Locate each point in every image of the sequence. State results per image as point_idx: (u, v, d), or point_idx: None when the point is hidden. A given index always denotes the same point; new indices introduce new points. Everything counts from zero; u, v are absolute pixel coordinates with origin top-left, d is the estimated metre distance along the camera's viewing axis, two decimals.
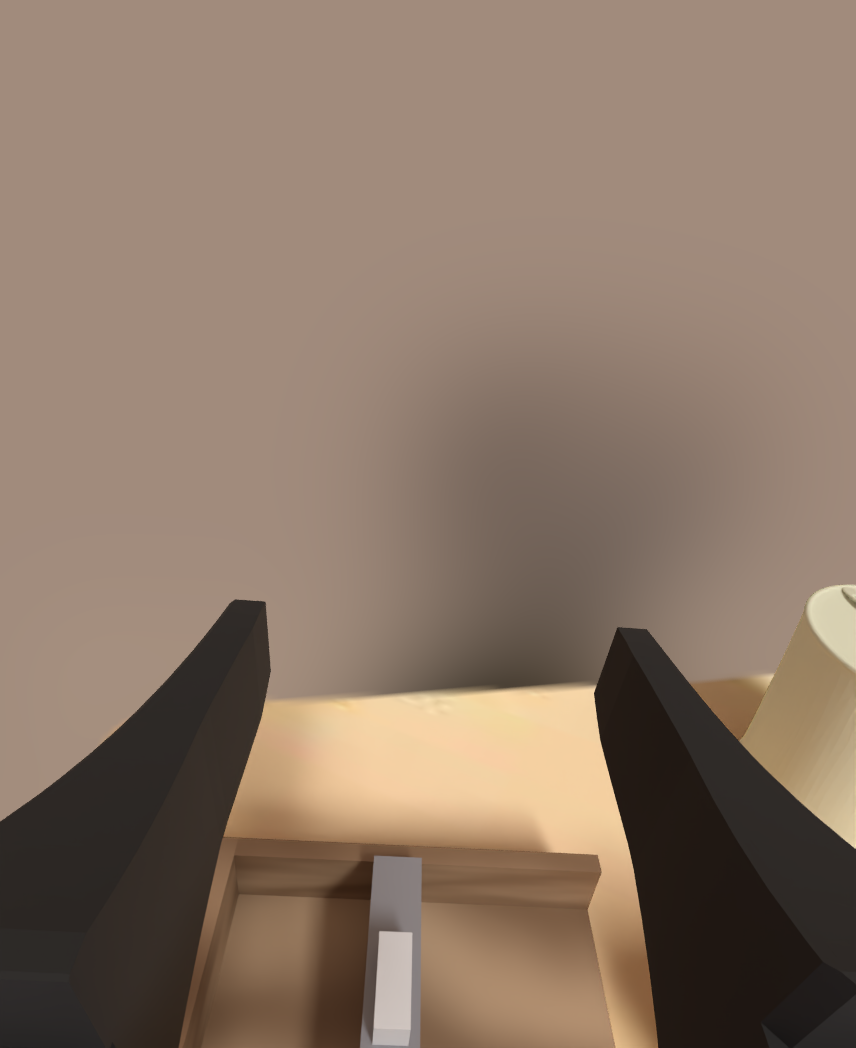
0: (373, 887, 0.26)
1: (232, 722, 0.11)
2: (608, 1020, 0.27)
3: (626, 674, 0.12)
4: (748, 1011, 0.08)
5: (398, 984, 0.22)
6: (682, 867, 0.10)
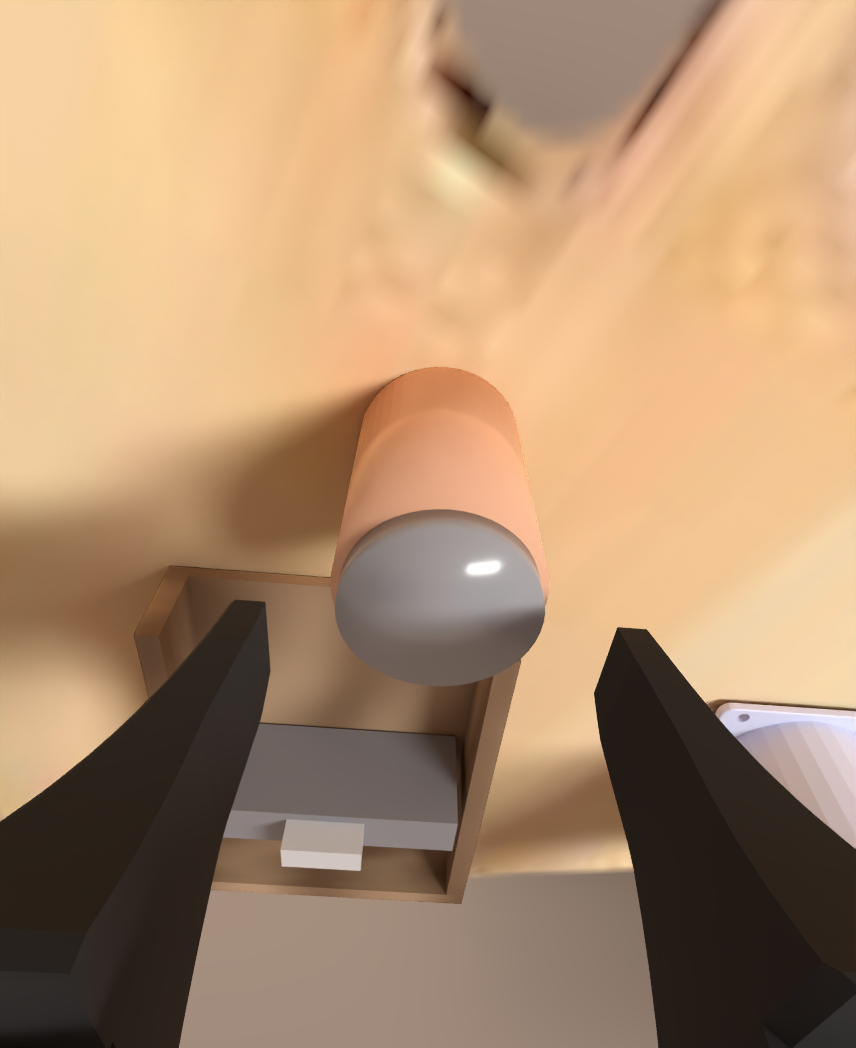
0: (230, 836, 0.26)
1: (232, 722, 0.11)
2: (309, 582, 0.24)
3: (626, 674, 0.12)
4: (748, 1011, 0.08)
5: (326, 858, 0.25)
6: (682, 867, 0.10)
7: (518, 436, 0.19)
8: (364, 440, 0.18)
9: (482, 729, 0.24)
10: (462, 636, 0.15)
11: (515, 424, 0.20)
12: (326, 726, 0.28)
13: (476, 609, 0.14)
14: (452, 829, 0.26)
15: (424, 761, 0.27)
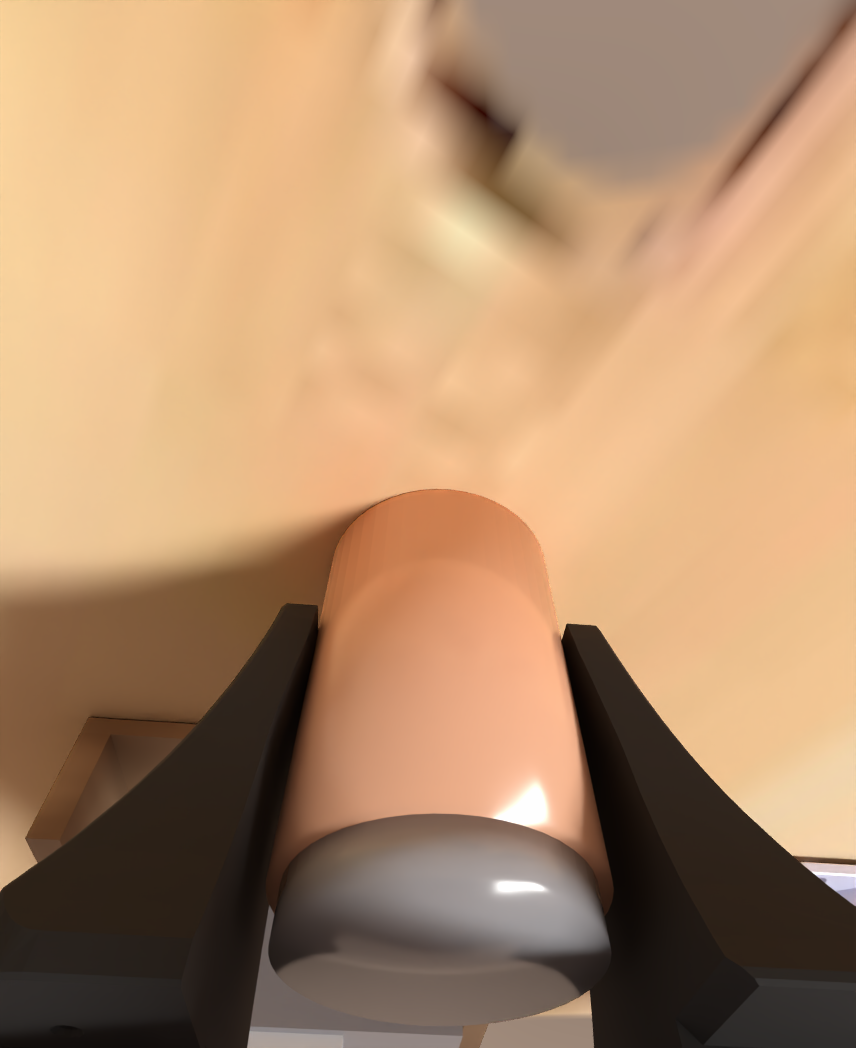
0: None
1: (291, 725, 0.11)
2: None
3: (572, 670, 0.12)
4: (665, 1007, 0.08)
5: None
6: (615, 863, 0.10)
7: (549, 588, 0.14)
8: (330, 608, 0.13)
9: None
10: (475, 983, 0.09)
11: (544, 567, 0.14)
12: None
13: (499, 957, 0.09)
14: (455, 1040, 0.20)
15: None
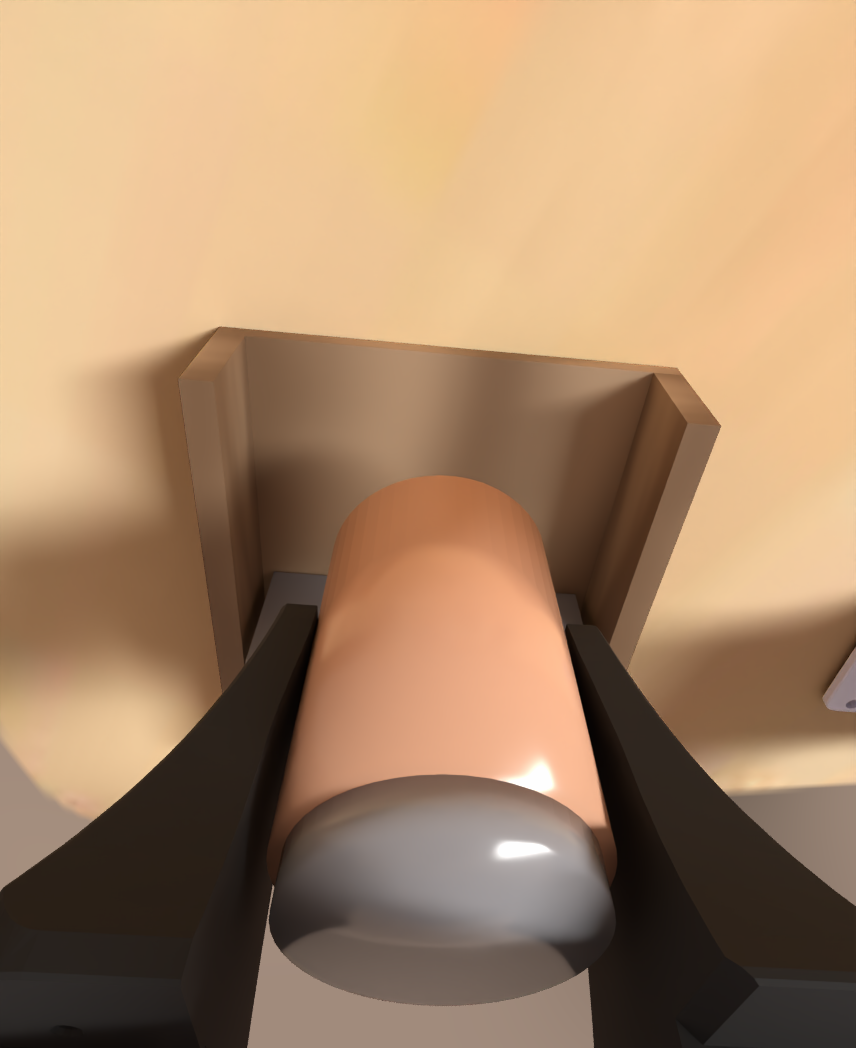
0: None
1: (291, 725, 0.11)
2: (408, 348, 0.18)
3: None
4: (665, 1007, 0.08)
5: None
6: None
7: None
8: (334, 586, 0.13)
9: (644, 545, 0.18)
10: (476, 956, 0.09)
11: (546, 556, 0.14)
12: None
13: (503, 927, 0.09)
14: None
15: None
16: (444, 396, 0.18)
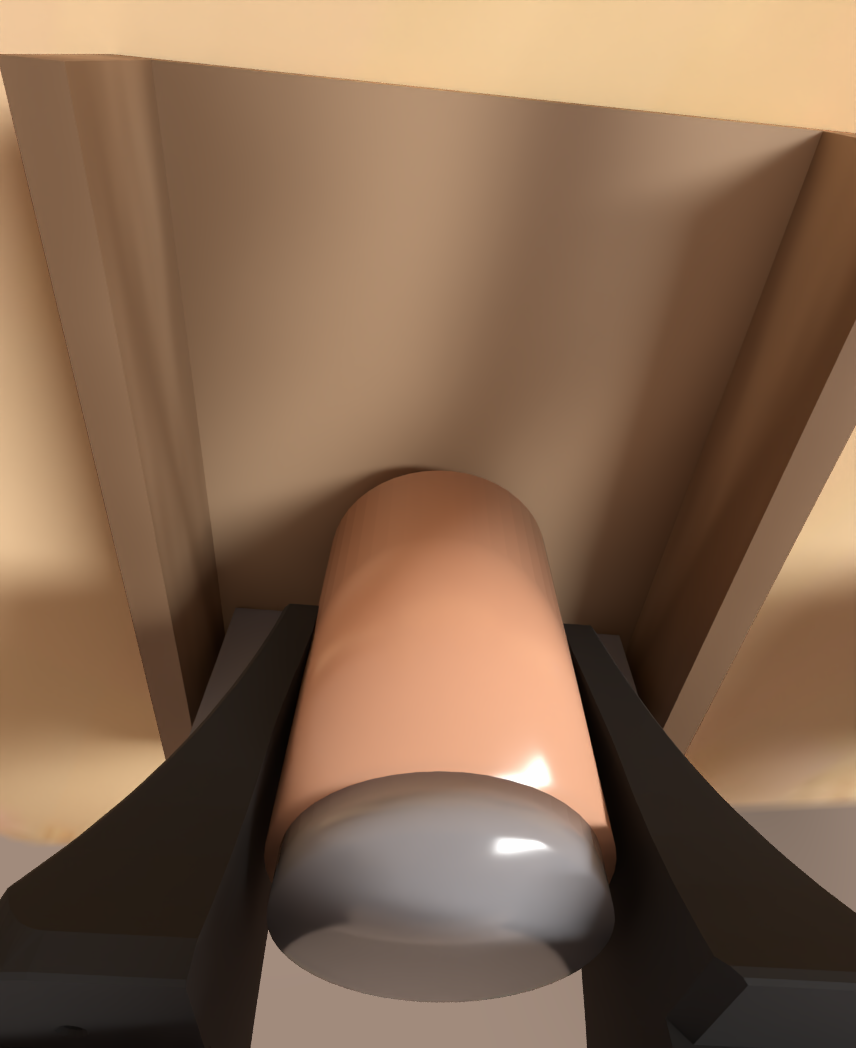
0: None
1: None
2: (422, 88, 0.11)
3: None
4: (656, 1007, 0.08)
5: None
6: None
7: (550, 572, 0.14)
8: (333, 582, 0.12)
9: (813, 410, 0.11)
10: (475, 953, 0.09)
11: (545, 552, 0.14)
12: None
13: (501, 924, 0.09)
14: None
15: None
16: (480, 179, 0.11)
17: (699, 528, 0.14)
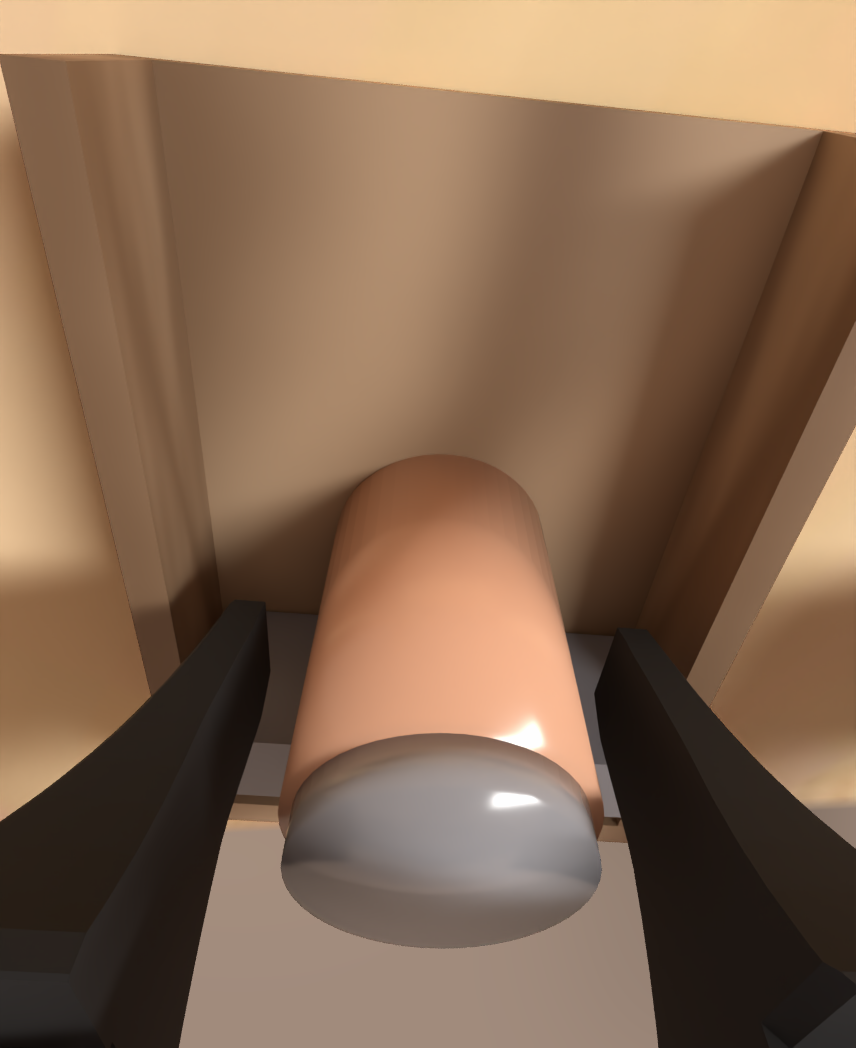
0: (258, 793, 0.15)
1: (232, 722, 0.11)
2: (423, 87, 0.11)
3: (626, 674, 0.12)
4: (748, 1011, 0.08)
5: None
6: (682, 867, 0.10)
7: None
8: (339, 561, 0.13)
9: (813, 410, 0.11)
10: (473, 900, 0.10)
11: (542, 532, 0.15)
12: None
13: (497, 873, 0.09)
14: None
15: (579, 672, 0.16)
16: (481, 178, 0.11)
17: (699, 528, 0.14)
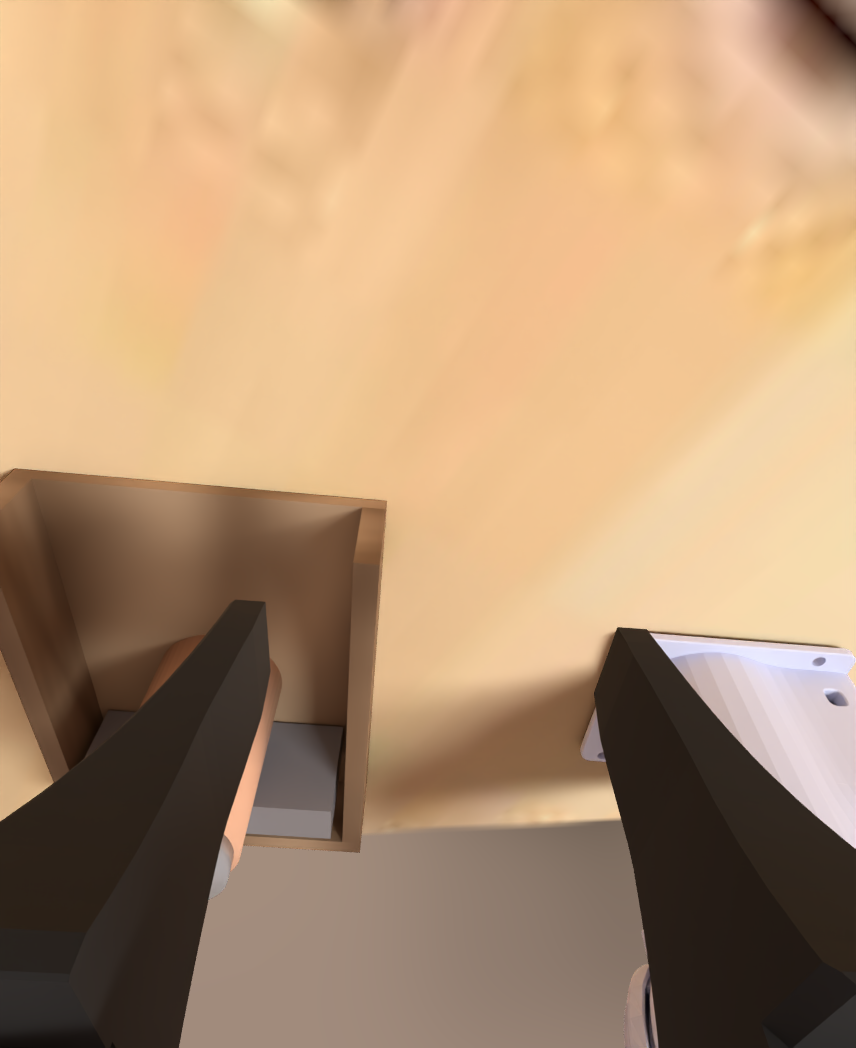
0: None
1: (232, 721, 0.11)
2: (165, 487, 0.22)
3: (626, 674, 0.12)
4: (748, 1011, 0.08)
5: None
6: (682, 867, 0.10)
7: (269, 690, 0.26)
8: (143, 701, 0.24)
9: (350, 646, 0.22)
10: None
11: (270, 677, 0.26)
12: None
13: None
14: (326, 817, 0.26)
15: (307, 751, 0.28)
16: (200, 522, 0.23)
17: None
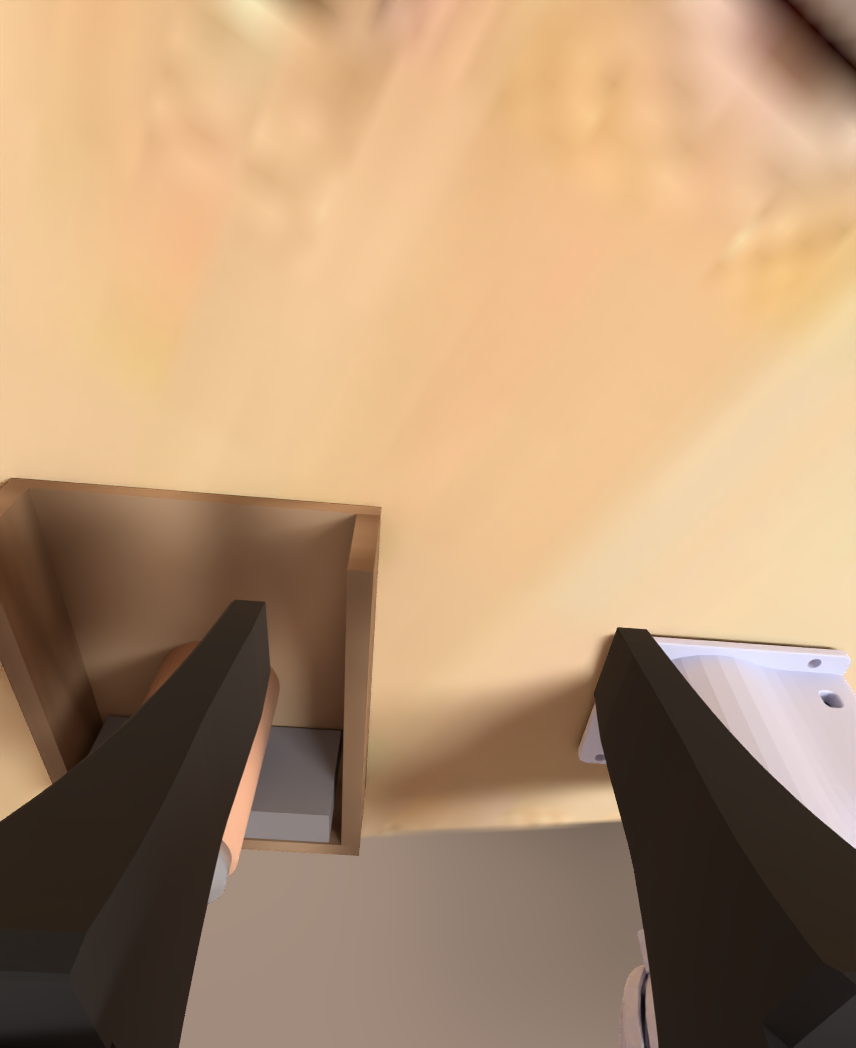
0: None
1: (232, 722, 0.11)
2: (161, 495, 0.22)
3: (626, 674, 0.12)
4: (748, 1011, 0.08)
5: None
6: (682, 867, 0.10)
7: (266, 695, 0.26)
8: None
9: (346, 652, 0.22)
10: None
11: (268, 682, 0.26)
12: None
13: None
14: (324, 821, 0.26)
15: (306, 755, 0.28)
16: (196, 529, 0.23)
17: None
